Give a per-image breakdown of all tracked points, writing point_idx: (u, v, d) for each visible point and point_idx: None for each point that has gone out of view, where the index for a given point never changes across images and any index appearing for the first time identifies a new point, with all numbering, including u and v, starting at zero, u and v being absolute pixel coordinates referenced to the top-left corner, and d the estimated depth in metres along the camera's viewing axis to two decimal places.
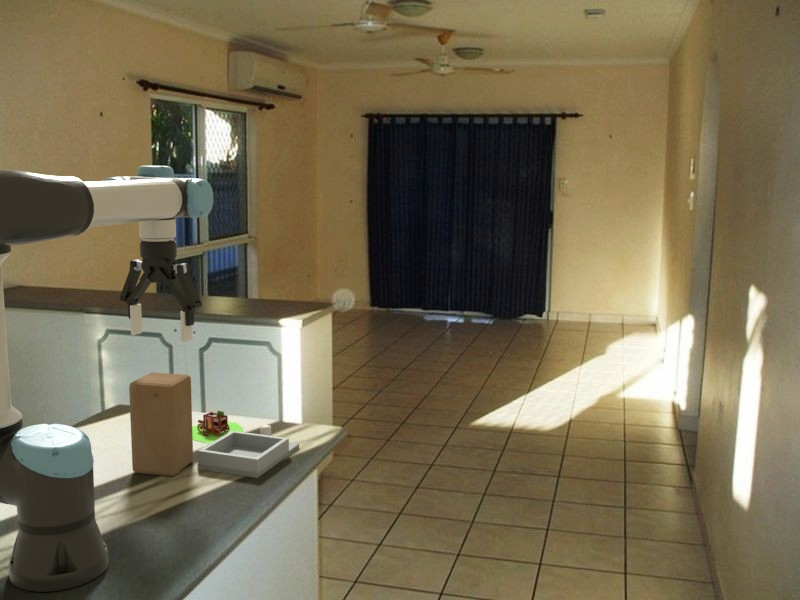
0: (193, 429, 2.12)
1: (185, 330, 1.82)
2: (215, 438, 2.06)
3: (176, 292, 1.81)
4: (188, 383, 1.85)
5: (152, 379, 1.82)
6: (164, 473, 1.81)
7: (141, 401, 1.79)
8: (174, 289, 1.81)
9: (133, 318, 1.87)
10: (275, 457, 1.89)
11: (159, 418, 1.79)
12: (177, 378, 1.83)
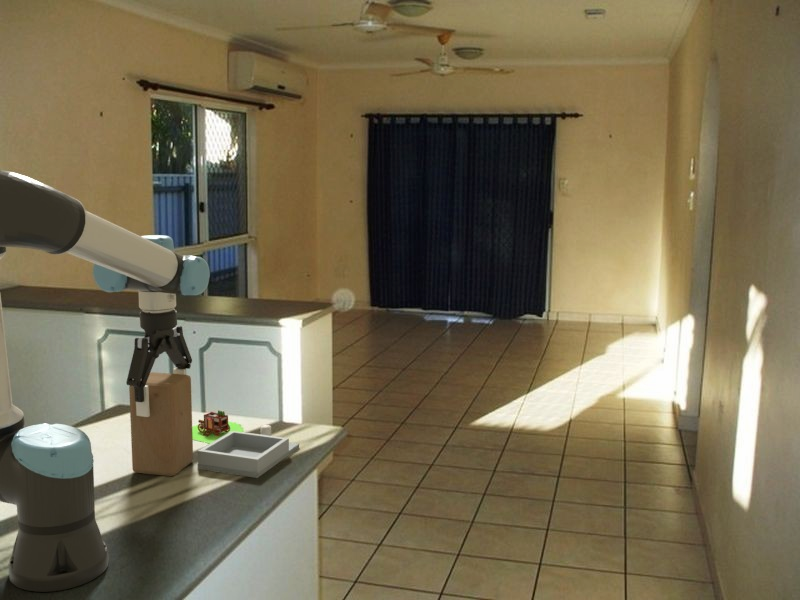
0: (193, 429, 2.12)
1: (138, 405, 1.78)
2: (216, 438, 2.06)
3: None
4: (188, 383, 1.85)
5: (152, 379, 1.82)
6: (164, 473, 1.81)
7: None
8: None
9: None
10: (275, 457, 1.89)
11: (159, 418, 1.79)
12: (177, 378, 1.83)
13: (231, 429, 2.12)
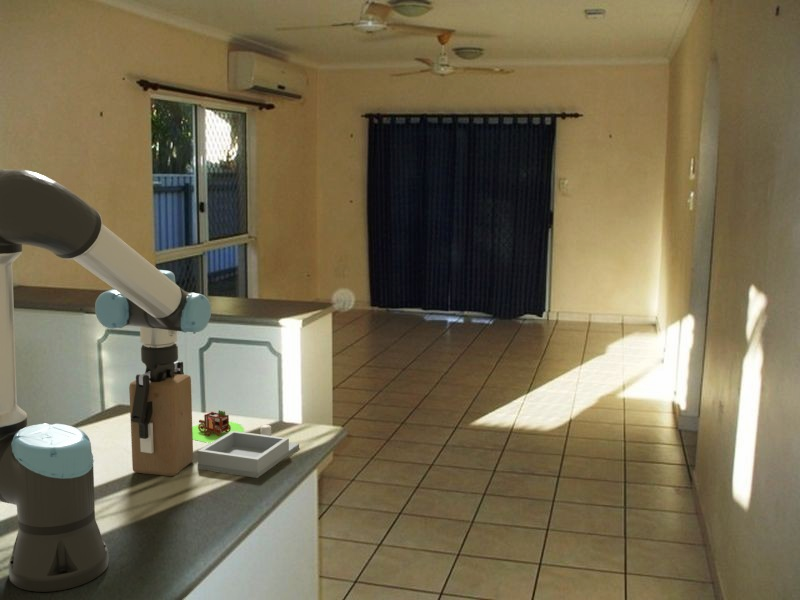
0: (194, 429, 2.12)
1: (143, 441, 1.80)
2: (216, 438, 2.06)
3: None
4: (188, 383, 1.85)
5: None
6: (164, 473, 1.81)
7: None
8: None
9: None
10: (275, 457, 1.89)
11: (159, 418, 1.79)
12: (177, 378, 1.83)
13: (231, 429, 2.13)
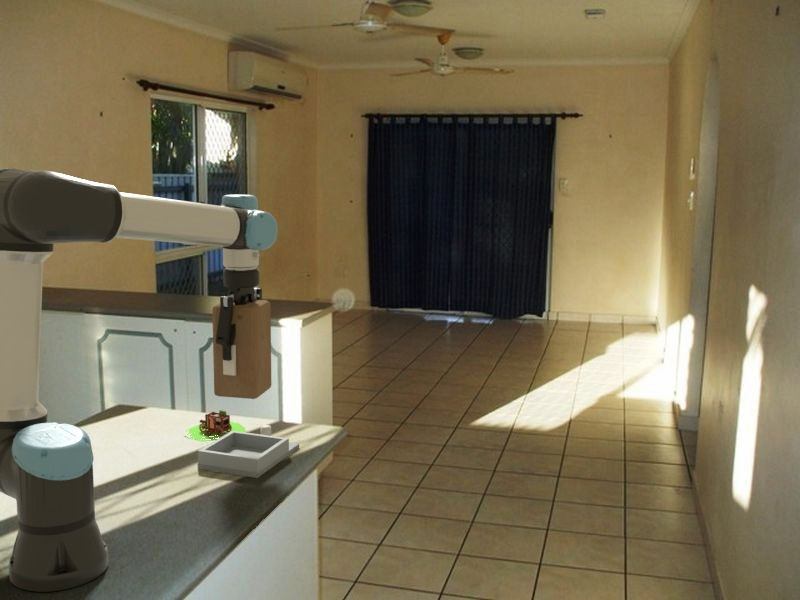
0: (195, 429, 2.12)
1: (225, 364, 1.81)
2: None
3: None
4: (268, 308, 1.87)
5: None
6: (246, 396, 1.83)
7: None
8: None
9: None
10: (275, 457, 1.89)
11: (242, 340, 1.81)
12: (258, 302, 1.85)
13: (232, 429, 2.13)
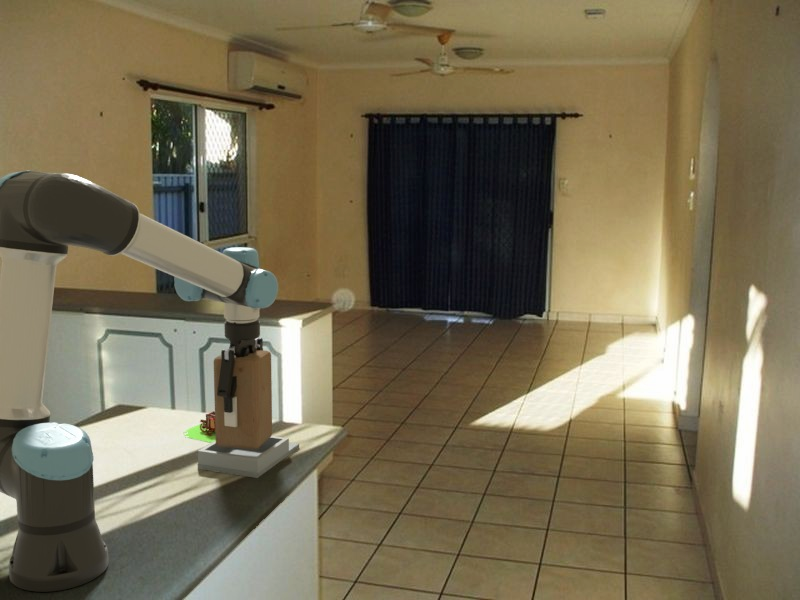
0: (195, 429, 2.12)
1: (227, 415, 1.83)
2: None
3: None
4: (269, 359, 1.89)
5: None
6: (247, 446, 1.85)
7: None
8: None
9: None
10: (275, 457, 1.89)
11: (243, 392, 1.83)
12: (259, 353, 1.87)
13: None
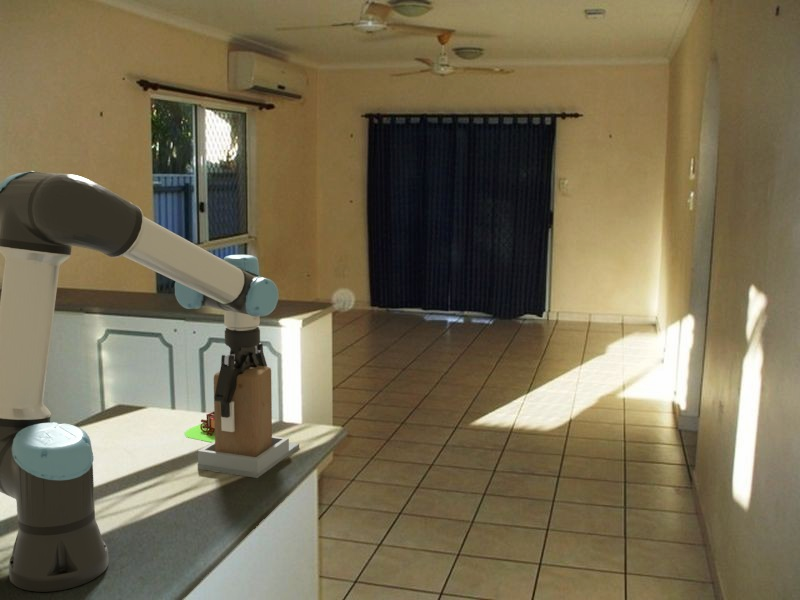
0: (196, 429, 2.12)
1: (224, 420, 1.82)
2: None
3: None
4: (269, 375, 1.89)
5: None
6: None
7: None
8: None
9: None
10: (275, 457, 1.89)
11: (243, 408, 1.83)
12: (259, 369, 1.87)
13: None
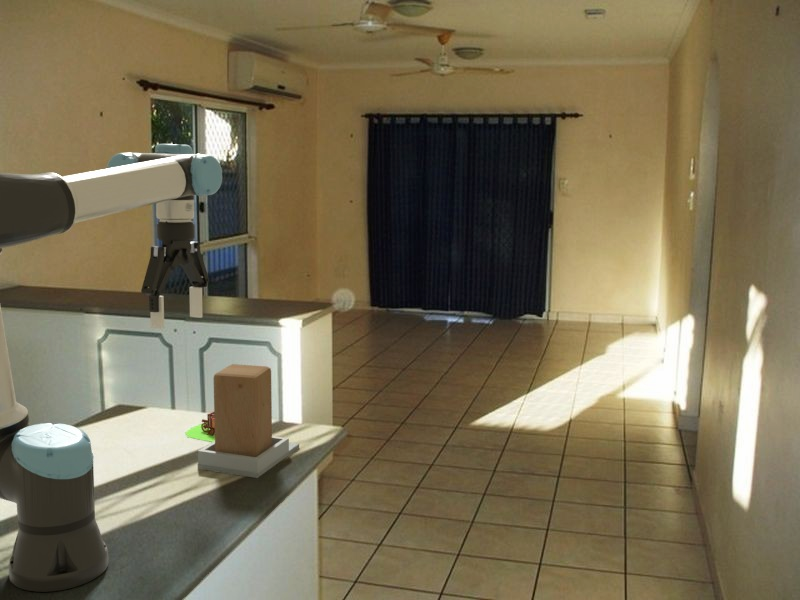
0: (196, 429, 2.12)
1: (153, 316, 1.73)
2: None
3: None
4: (269, 375, 1.89)
5: (235, 370, 1.86)
6: None
7: (225, 392, 1.83)
8: None
9: (190, 300, 1.86)
10: (275, 457, 1.89)
11: (243, 408, 1.83)
12: (259, 370, 1.87)
13: None
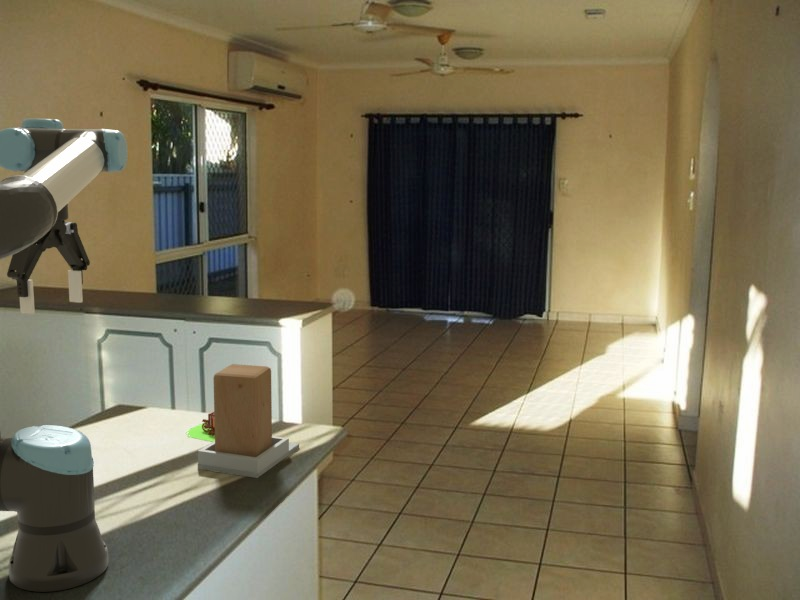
0: (197, 429, 2.12)
1: (22, 301, 1.64)
2: None
3: None
4: (269, 375, 1.89)
5: (235, 370, 1.86)
6: None
7: (225, 392, 1.83)
8: None
9: (69, 284, 1.77)
10: (275, 457, 1.89)
11: (243, 408, 1.83)
12: (259, 370, 1.87)
13: None
